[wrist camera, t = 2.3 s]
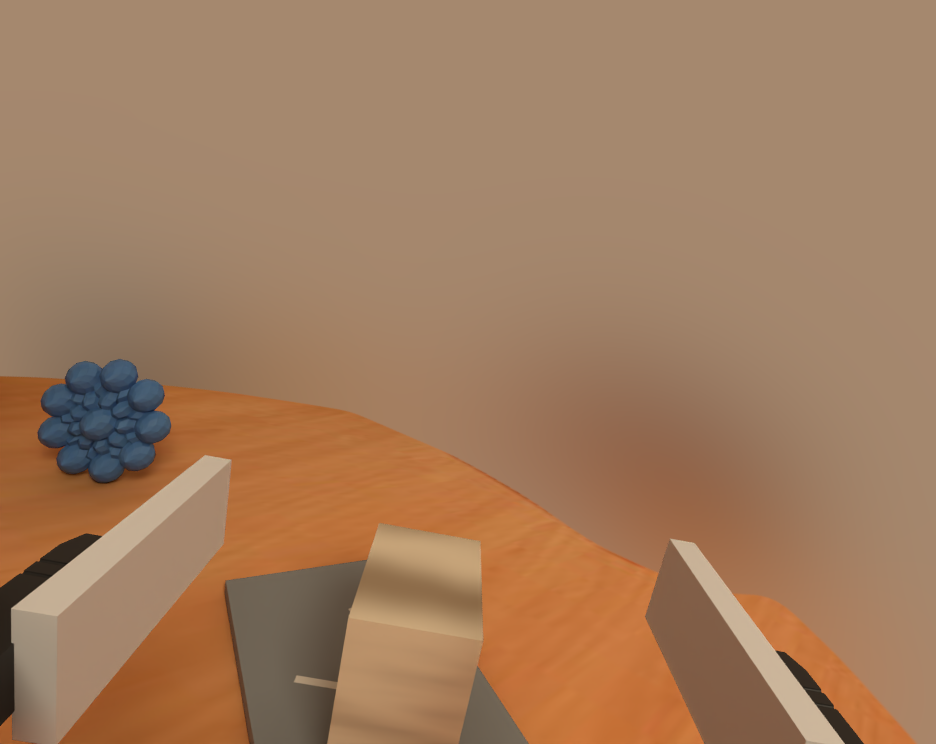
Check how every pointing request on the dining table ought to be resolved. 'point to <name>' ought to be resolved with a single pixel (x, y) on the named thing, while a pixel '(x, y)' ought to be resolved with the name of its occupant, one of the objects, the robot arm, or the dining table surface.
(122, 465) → the grapes
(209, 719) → the dining table surface
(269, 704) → the board
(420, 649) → the block
